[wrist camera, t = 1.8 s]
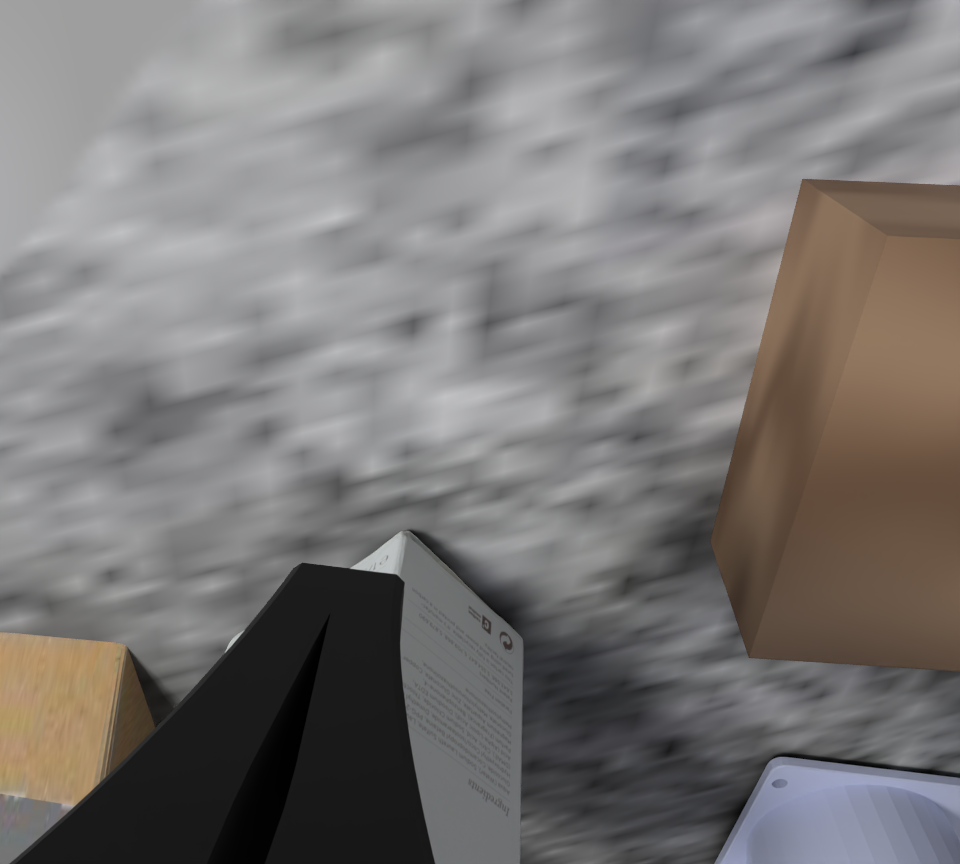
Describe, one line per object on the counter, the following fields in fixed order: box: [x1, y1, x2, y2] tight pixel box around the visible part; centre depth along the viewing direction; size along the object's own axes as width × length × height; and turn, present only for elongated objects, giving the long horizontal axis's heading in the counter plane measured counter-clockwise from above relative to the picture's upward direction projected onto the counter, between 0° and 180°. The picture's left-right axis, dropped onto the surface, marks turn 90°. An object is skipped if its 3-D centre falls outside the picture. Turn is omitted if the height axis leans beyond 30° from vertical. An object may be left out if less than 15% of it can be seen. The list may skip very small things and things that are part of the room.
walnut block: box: [710, 179, 960, 671], centre depth 16 cm, size 10×8×4 cm
